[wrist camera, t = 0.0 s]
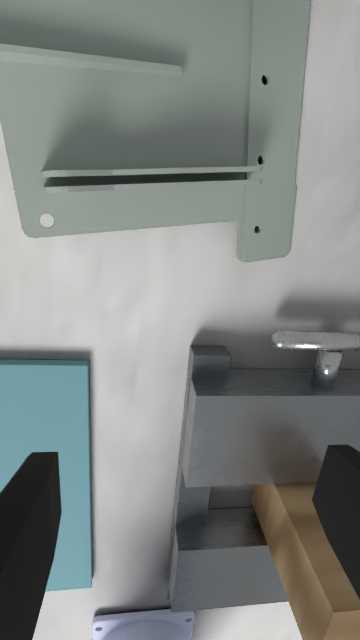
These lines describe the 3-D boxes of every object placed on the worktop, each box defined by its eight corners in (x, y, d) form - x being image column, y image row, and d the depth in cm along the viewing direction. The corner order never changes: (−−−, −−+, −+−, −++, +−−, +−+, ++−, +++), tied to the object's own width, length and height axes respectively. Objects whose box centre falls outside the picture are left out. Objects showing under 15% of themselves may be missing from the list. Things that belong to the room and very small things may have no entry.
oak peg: (304, 498, 25) (390, 656, 16) (251, 500, 24) (312, 666, 16) (316, 454, 23) (418, 604, 15) (260, 455, 23) (333, 612, 14)
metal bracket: (9, 308, 11) (-184, -517, 6) (12, 271, 16) (-91, -195, 11) (332, 259, 17) (395, -204, 11) (260, 242, 22) (278, -83, 16)
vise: (346, 566, 28) (367, 605, 26) (166, 581, 26) (169, 625, 24) (438, 326, 21) (481, 347, 18) (193, 318, 18) (202, 340, 16)
